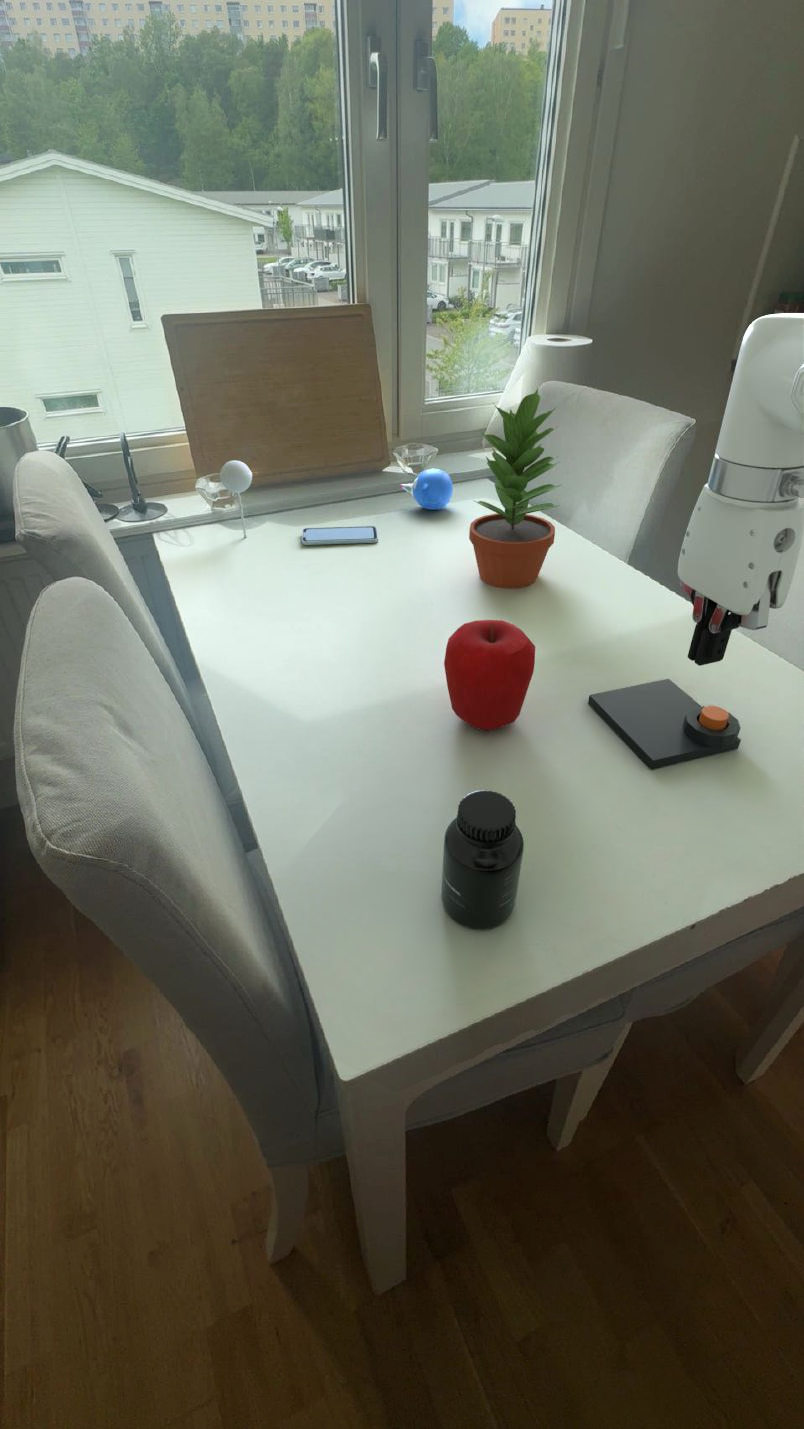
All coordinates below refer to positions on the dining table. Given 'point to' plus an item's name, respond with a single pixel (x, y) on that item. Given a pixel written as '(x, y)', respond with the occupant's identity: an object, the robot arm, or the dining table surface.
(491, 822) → the supplement bottle
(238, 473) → the lollipop
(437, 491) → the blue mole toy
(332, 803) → the dining table surface
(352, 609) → the dining table surface
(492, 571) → the potted plant
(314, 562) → the dining table surface
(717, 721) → the button
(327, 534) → the smartphone
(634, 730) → the scale
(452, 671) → the apple
